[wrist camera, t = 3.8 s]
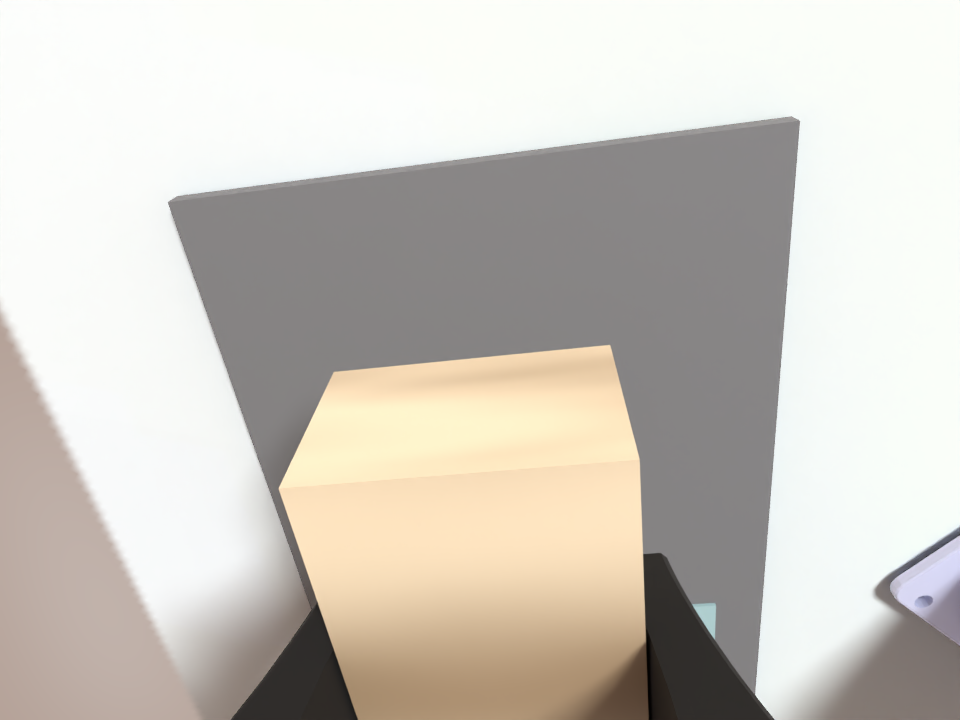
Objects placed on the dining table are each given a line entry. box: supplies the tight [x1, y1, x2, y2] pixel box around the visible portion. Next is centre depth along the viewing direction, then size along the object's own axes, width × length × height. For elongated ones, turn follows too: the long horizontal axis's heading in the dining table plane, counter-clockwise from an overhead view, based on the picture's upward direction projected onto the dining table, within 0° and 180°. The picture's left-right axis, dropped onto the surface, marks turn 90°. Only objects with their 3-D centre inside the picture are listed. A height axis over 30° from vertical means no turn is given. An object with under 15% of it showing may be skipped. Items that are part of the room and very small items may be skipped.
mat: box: [168, 117, 800, 695], centre depth 21 cm, size 24×14×1 cm, turn 8°
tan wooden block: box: [279, 345, 649, 720], centre depth 12 cm, size 9×4×3 cm, turn 8°
